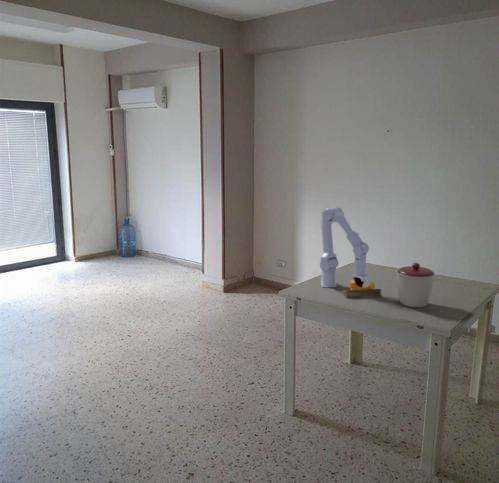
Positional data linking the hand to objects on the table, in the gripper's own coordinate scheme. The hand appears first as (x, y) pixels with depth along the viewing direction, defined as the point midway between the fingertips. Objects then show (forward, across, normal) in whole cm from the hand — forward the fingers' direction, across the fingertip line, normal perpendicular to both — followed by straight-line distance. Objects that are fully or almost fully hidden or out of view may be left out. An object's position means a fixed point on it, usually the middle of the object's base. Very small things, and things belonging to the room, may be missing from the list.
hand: (358, 290), depth 256 cm
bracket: (+1, -4, 0) cm, 4 cm away
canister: (+1, -21, -21) cm, 30 cm away
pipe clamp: (+1, -3, -1) cm, 3 cm away
